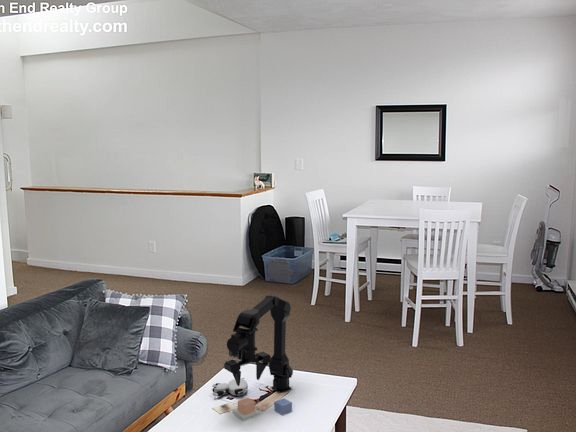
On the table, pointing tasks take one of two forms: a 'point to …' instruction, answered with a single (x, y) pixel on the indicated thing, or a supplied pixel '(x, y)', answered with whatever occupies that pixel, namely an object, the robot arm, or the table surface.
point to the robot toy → (230, 388)
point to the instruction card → (225, 408)
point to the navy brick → (283, 406)
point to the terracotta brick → (246, 406)
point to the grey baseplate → (247, 416)
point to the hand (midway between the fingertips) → (248, 382)
